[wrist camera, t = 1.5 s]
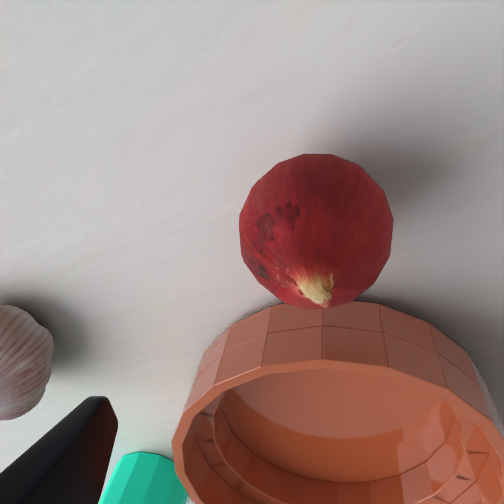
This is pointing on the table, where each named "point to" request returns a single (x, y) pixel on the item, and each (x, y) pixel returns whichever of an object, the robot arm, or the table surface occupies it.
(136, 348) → the table surface
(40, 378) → the garlic bulb
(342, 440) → the terracotta bowl
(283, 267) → the onion
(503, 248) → the table surface
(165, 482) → the candle
